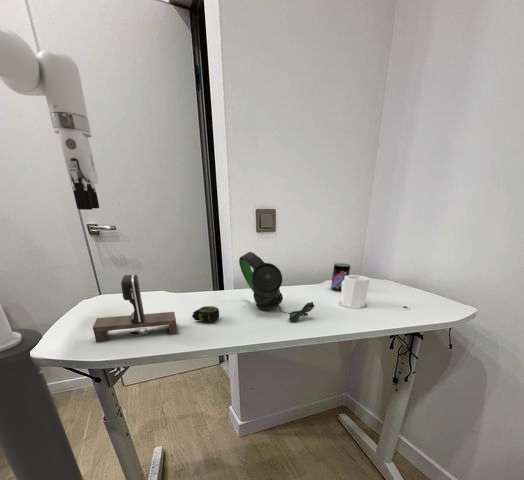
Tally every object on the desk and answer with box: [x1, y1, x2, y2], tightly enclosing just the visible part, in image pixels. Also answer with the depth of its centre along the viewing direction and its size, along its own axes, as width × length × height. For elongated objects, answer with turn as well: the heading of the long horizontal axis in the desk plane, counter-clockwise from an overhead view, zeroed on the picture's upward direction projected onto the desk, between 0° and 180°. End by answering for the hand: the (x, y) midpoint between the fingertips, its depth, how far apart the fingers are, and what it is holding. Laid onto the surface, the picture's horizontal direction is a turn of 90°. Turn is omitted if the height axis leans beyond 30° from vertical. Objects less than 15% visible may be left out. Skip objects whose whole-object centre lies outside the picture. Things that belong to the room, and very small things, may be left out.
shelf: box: [92, 311, 178, 343], centre depth 79 cm, size 20×7×4 cm, turn 109°
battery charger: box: [120, 274, 145, 322], centre depth 75 cm, size 7×4×11 cm, turn 19°
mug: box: [340, 274, 370, 309], centre depth 106 cm, size 12×9×10 cm
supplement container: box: [330, 262, 352, 292], centre depth 122 cm, size 7×7×10 cm
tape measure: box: [191, 305, 220, 323], centre depth 88 cm, size 7×7×4 cm
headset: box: [238, 251, 315, 322], centre depth 95 cm, size 18×14×29 cm
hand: (89, 208), depth 75 cm, fingers open, 9 cm apart
